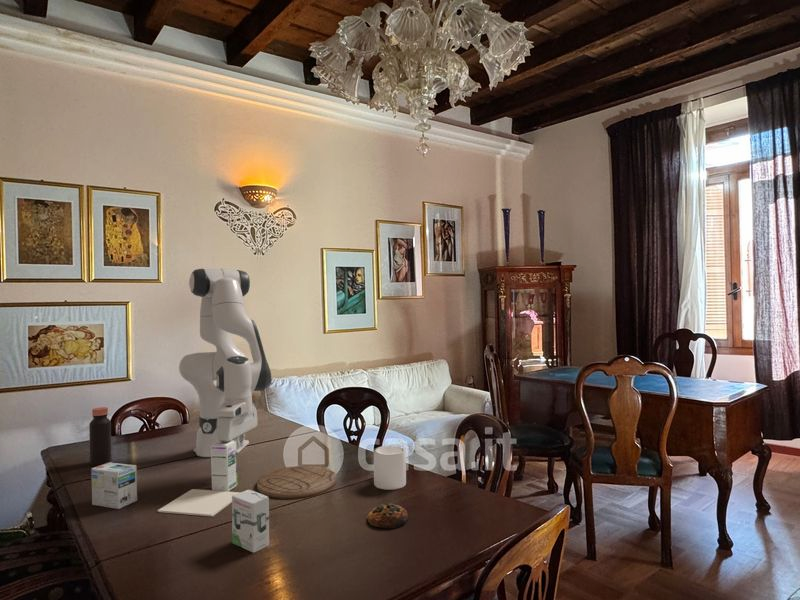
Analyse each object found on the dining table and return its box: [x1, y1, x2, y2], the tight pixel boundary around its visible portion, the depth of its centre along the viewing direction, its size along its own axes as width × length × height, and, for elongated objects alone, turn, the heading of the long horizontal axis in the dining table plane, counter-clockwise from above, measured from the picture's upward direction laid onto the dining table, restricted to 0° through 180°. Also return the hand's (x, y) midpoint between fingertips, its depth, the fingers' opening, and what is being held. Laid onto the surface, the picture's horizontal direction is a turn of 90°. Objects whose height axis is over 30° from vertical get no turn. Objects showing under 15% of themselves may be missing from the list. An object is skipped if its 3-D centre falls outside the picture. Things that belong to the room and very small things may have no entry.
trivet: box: [256, 465, 337, 500], centre depth 162 cm, size 25×25×2 cm
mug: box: [373, 445, 407, 490], centre depth 163 cm, size 14×10×11 cm
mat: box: [157, 488, 241, 517], centre depth 147 cm, size 16×17×1 cm
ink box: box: [231, 489, 270, 553], centre depth 122 cm, size 9×5×12 cm, turn 54°
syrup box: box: [210, 440, 239, 492], centre depth 159 cm, size 6×6×14 cm
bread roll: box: [366, 503, 409, 529], centre depth 135 cm, size 11×11×5 cm
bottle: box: [88, 406, 112, 467], centre depth 185 cm, size 7×7×20 cm
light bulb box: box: [91, 461, 138, 510], centre depth 148 cm, size 11×7×11 cm, turn 71°
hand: (238, 447), depth 167 cm, fingers closed
